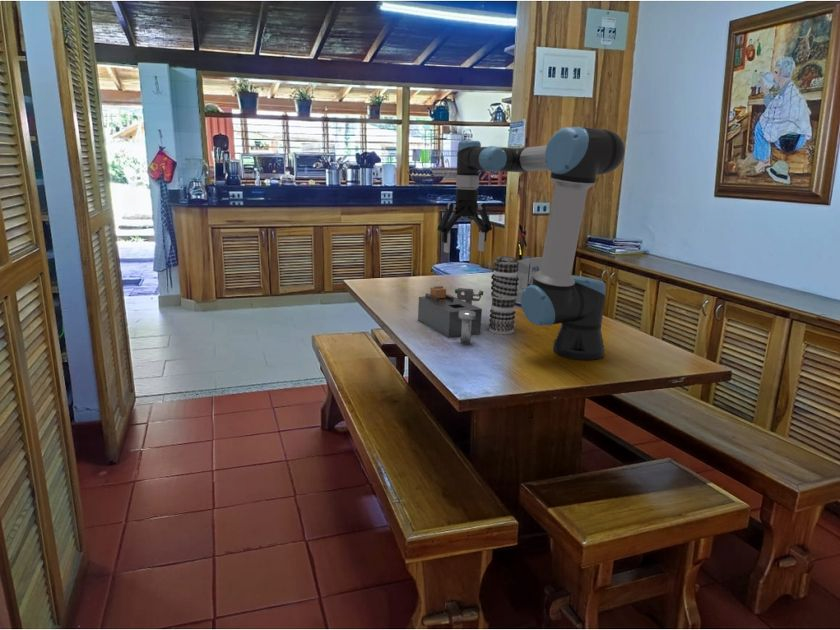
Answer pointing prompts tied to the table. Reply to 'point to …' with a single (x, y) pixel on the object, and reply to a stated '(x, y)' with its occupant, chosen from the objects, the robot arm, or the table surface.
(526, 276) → the milk carton
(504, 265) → the decorative candle
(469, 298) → the mechanical component
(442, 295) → the block
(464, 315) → the pin
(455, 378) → the table surface
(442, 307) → the hitch block
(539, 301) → the robot arm
